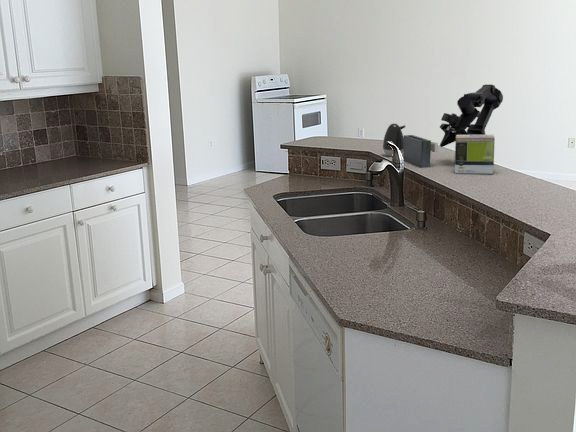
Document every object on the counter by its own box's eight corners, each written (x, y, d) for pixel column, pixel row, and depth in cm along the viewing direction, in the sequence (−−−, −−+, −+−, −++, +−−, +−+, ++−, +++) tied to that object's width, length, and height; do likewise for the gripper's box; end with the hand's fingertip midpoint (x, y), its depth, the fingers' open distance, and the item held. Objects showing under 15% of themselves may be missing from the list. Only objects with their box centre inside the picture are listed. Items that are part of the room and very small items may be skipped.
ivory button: (433, 150, 275) (433, 141, 274) (437, 152, 271) (437, 142, 270) (423, 151, 274) (423, 142, 273) (427, 152, 270) (427, 143, 269)
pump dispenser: (403, 157, 295) (403, 124, 291) (380, 157, 299) (381, 124, 295) (406, 154, 305) (407, 122, 301) (384, 153, 308) (385, 122, 304)
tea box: (492, 170, 261) (494, 134, 257) (493, 174, 252) (495, 137, 248) (454, 169, 265) (456, 133, 261) (453, 173, 256) (455, 136, 252)
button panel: (411, 159, 290) (412, 134, 287) (430, 166, 271) (430, 140, 268) (403, 160, 289) (403, 135, 286) (420, 167, 270) (421, 141, 267)
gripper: (444, 104, 279) (420, 131, 280) (463, 107, 261) (437, 136, 262) (460, 122, 282) (436, 148, 283) (480, 126, 265) (454, 154, 265)
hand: (440, 146), depth 273 cm, fingers closed
